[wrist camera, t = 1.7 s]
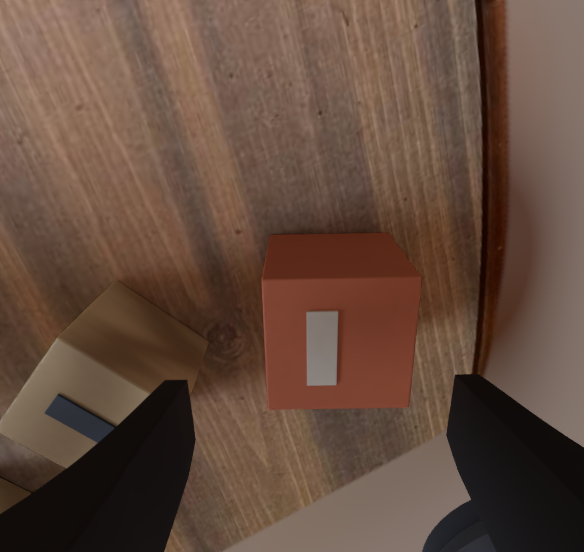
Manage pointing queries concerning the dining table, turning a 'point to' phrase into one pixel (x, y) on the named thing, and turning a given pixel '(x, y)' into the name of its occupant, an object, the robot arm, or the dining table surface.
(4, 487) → the beech block
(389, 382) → the terracotta block
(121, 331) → the beech block
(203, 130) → the dining table surface
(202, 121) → the dining table surface
